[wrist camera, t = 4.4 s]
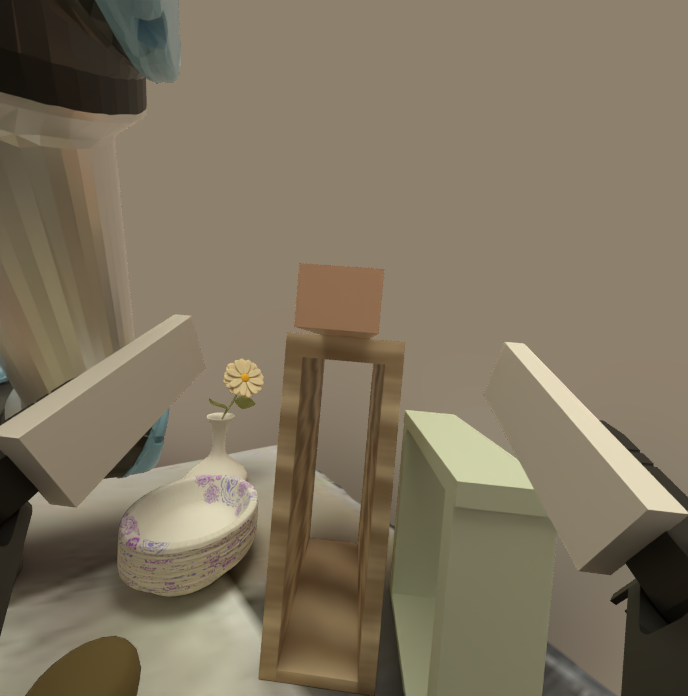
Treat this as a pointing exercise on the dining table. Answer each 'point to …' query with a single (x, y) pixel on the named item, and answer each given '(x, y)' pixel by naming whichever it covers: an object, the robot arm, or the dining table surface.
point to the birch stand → (326, 555)
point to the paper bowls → (186, 534)
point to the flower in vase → (229, 420)
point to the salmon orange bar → (339, 300)
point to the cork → (93, 671)
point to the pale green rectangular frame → (468, 565)
